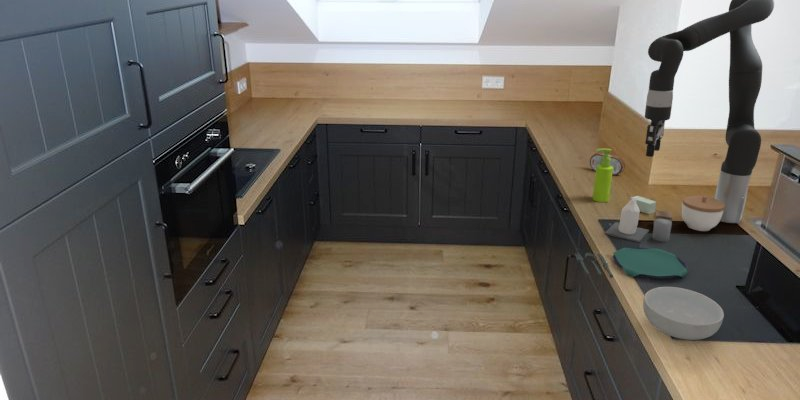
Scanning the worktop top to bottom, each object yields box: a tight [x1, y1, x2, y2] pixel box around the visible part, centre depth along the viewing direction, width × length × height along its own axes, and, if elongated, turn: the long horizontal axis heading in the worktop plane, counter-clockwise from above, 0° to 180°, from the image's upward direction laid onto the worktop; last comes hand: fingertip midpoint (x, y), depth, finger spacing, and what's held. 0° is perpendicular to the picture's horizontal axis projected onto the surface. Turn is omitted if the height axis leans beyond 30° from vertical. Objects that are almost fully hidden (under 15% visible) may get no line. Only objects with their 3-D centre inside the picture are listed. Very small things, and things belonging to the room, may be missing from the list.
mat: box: [604, 221, 650, 243], centre depth 189 cm, size 11×11×1 cm
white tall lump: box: [619, 198, 641, 234], centre depth 187 cm, size 6×12×6 cm
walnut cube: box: [653, 209, 673, 224], centre depth 193 cm, size 5×5×5 cm
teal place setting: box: [574, 247, 688, 280], centre depth 167 cm, size 20×30×2 cm, turn 85°
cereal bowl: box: [642, 286, 725, 341], centre depth 134 cm, size 17×17×7 cm
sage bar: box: [629, 195, 658, 215], centre depth 208 cm, size 8×4×4 cm, turn 34°
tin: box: [589, 151, 626, 176], centre depth 248 cm, size 15×3×8 cm, turn 47°
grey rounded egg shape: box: [651, 219, 673, 243], centre depth 184 cm, size 5×5×6 cm
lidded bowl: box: [681, 195, 725, 232], centre depth 192 cm, size 13×13×11 cm
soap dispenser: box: [592, 147, 613, 203], centre depth 215 cm, size 6×7×20 cm
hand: (652, 153), depth 187 cm, fingers open, 8 cm apart
